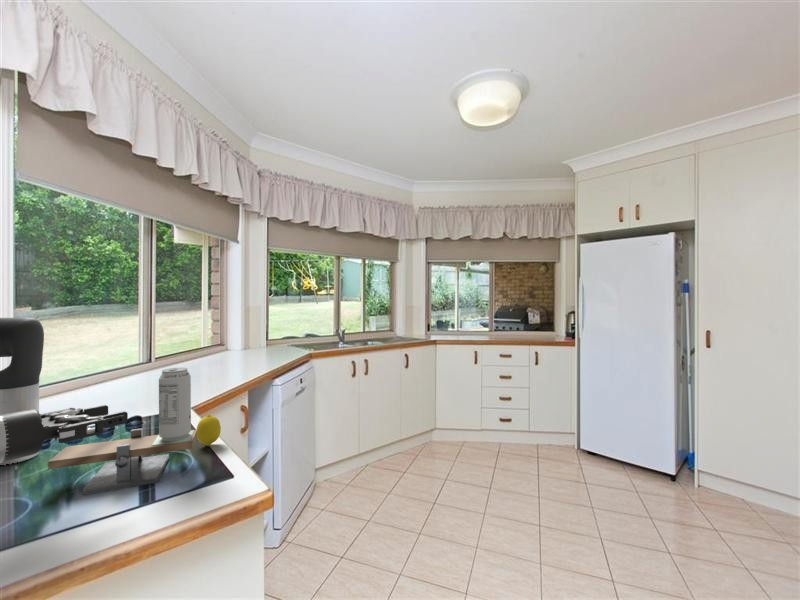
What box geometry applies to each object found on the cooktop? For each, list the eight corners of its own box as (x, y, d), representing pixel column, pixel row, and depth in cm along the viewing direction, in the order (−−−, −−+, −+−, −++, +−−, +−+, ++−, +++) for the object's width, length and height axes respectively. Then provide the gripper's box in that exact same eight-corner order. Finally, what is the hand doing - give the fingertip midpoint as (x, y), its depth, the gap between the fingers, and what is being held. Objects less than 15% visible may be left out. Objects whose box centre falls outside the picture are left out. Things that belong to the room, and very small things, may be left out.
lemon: (224, 445, 94) (224, 414, 94) (201, 452, 90) (201, 419, 90) (215, 440, 98) (215, 410, 98) (192, 446, 93) (192, 415, 93)
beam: (48, 469, 70) (48, 460, 70) (66, 453, 77) (66, 445, 77) (192, 448, 79) (192, 440, 79) (196, 436, 86) (196, 428, 86)
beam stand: (82, 495, 70) (82, 452, 70) (105, 467, 82) (106, 431, 82) (157, 482, 74) (157, 443, 74) (168, 458, 86) (168, 424, 86)
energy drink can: (197, 434, 83) (196, 368, 83) (171, 444, 77) (170, 372, 77) (179, 431, 85) (178, 366, 85) (152, 440, 80) (152, 371, 80)
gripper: (10, 423, 55) (134, 399, 68) (-15, 409, 62) (101, 389, 76) (9, 473, 54) (133, 439, 68) (-16, 453, 62) (101, 426, 76)
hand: (116, 413), depth 72 cm, fingers open, 8 cm apart
